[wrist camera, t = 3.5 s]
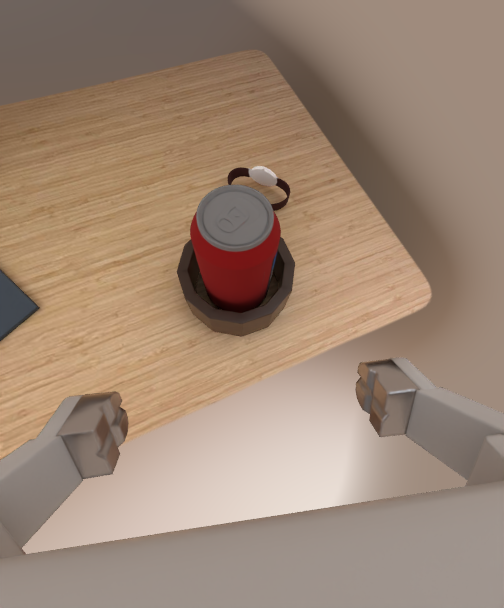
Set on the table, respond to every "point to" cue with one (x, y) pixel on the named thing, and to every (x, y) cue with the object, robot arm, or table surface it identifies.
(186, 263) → the faceted ring
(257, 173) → the watch
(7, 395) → the table surface
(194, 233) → the beverage can
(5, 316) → the mat
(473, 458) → the robot arm
